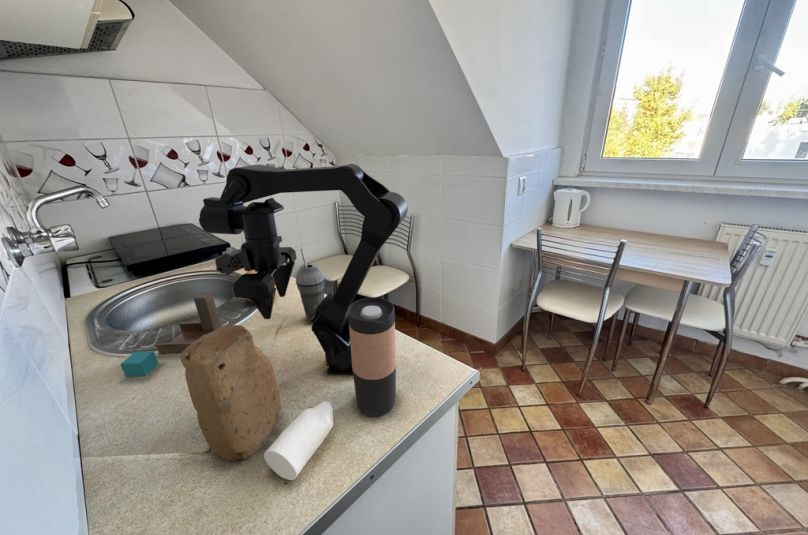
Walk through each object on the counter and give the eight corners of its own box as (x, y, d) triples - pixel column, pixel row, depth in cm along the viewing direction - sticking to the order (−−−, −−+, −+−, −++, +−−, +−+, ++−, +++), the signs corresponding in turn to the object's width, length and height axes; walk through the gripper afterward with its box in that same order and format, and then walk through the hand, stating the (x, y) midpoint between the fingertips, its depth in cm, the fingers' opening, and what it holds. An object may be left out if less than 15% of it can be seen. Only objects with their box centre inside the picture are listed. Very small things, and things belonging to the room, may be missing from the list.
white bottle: (345, 421, 56) (342, 397, 53) (298, 486, 46) (292, 459, 43) (317, 410, 58) (313, 386, 56) (267, 470, 48) (259, 443, 46)
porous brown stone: (238, 473, 47) (203, 365, 40) (205, 454, 50) (166, 350, 43) (291, 418, 56) (270, 321, 49) (260, 405, 59) (236, 311, 52)
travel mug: (362, 383, 64) (356, 295, 56) (400, 389, 62) (399, 299, 54) (349, 414, 57) (339, 318, 49) (391, 421, 56) (388, 323, 48)
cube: (153, 350, 68) (134, 351, 68) (140, 363, 65) (120, 364, 65) (159, 365, 70) (140, 366, 70) (146, 378, 66) (127, 379, 66)
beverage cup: (322, 327, 83) (312, 255, 75) (296, 325, 84) (284, 253, 76) (334, 313, 89) (326, 245, 81) (309, 311, 90) (299, 243, 83)
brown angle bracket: (230, 331, 82) (218, 285, 77) (212, 354, 73) (197, 304, 68) (184, 333, 81) (168, 287, 76) (160, 356, 73) (140, 306, 68)
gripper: (239, 223, 69) (253, 288, 75) (189, 253, 52) (213, 334, 58) (291, 221, 69) (301, 286, 75) (259, 251, 52) (275, 332, 58)
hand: (275, 306), depth 67 cm, fingers open, 9 cm apart
